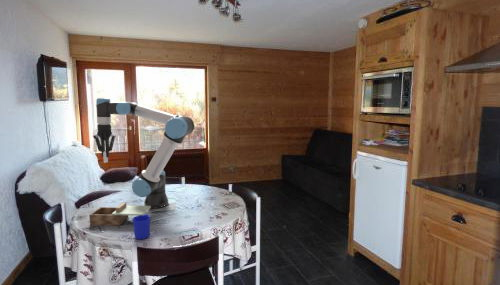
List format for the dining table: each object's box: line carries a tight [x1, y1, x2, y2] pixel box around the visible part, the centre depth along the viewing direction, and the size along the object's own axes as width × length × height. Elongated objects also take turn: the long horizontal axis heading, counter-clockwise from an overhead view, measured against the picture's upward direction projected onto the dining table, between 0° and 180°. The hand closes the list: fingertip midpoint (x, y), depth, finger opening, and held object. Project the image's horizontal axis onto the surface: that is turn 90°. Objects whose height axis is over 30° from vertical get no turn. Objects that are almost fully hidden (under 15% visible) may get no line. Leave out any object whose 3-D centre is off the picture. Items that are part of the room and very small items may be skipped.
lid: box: [112, 202, 152, 216], centre depth 168 cm, size 17×13×3 cm
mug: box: [132, 213, 151, 240], centre depth 151 cm, size 8×12×10 cm
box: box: [89, 206, 130, 227], centre depth 168 cm, size 16×12×6 cm
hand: (105, 162), depth 185 cm, fingers closed
